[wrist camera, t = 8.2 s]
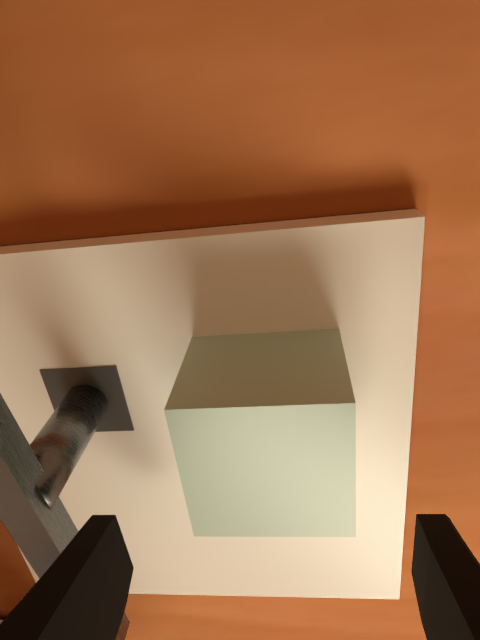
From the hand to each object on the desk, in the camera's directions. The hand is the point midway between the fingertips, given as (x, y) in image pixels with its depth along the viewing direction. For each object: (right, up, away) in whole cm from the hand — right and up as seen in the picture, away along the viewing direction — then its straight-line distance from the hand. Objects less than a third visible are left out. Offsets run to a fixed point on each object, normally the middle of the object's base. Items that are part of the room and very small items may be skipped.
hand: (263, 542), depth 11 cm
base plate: (-3, 0, +8) cm, 9 cm away
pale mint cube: (+1, +3, +5) cm, 6 cm away
